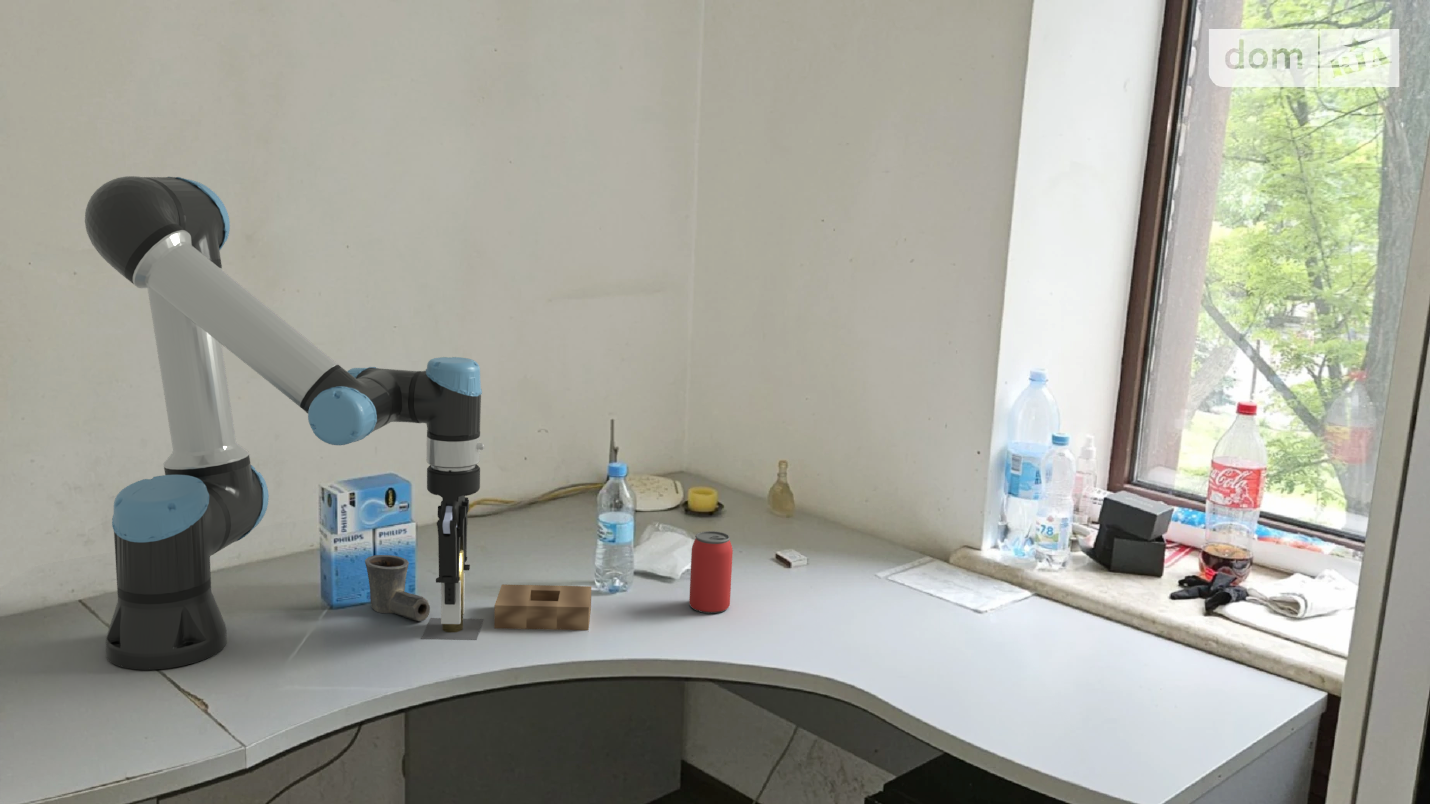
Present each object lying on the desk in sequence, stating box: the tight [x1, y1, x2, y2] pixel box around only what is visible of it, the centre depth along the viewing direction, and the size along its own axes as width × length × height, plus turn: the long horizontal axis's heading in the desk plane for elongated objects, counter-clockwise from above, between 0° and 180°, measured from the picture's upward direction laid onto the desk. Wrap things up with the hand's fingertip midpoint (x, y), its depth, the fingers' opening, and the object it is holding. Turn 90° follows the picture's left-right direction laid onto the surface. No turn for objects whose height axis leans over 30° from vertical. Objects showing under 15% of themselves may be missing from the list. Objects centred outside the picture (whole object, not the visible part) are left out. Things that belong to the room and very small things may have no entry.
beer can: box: [688, 530, 734, 614], centre depth 181 cm, size 7×7×12 cm
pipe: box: [364, 554, 431, 622], centre depth 173 cm, size 6×13×8 cm, turn 53°
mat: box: [420, 617, 485, 641], centre depth 168 cm, size 8×8×1 cm
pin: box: [442, 549, 464, 632], centre depth 167 cm, size 3×3×12 cm
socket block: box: [493, 584, 592, 631], centre depth 173 cm, size 14×9×4 cm, turn 94°
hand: (452, 618), depth 167 cm, fingers closed on pin, 3 cm apart
